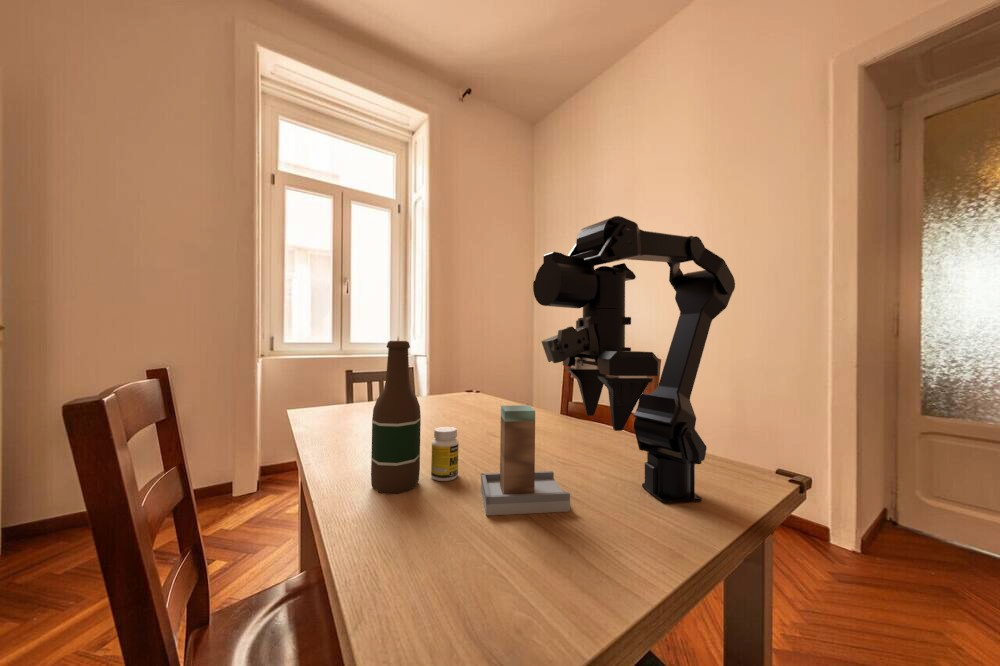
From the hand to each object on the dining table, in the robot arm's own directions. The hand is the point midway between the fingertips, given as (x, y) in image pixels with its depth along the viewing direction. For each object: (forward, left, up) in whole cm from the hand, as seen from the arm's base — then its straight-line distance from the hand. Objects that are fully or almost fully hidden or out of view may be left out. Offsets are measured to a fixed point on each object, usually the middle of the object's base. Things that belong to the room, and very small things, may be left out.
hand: (602, 422), depth 50 cm
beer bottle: (+30, -14, -13) cm, 36 cm away
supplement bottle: (+22, -17, -13) cm, 31 cm away
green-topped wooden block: (+11, -6, -12) cm, 17 cm away
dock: (+10, -7, -13) cm, 18 cm away
